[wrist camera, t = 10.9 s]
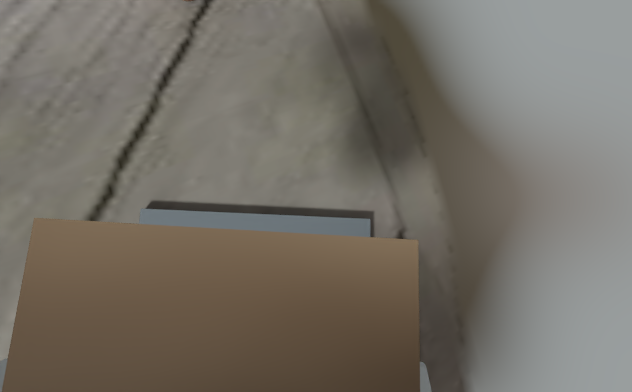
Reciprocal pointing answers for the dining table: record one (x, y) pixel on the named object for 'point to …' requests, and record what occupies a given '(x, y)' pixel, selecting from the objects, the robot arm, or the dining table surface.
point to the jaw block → (213, 311)
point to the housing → (258, 222)
